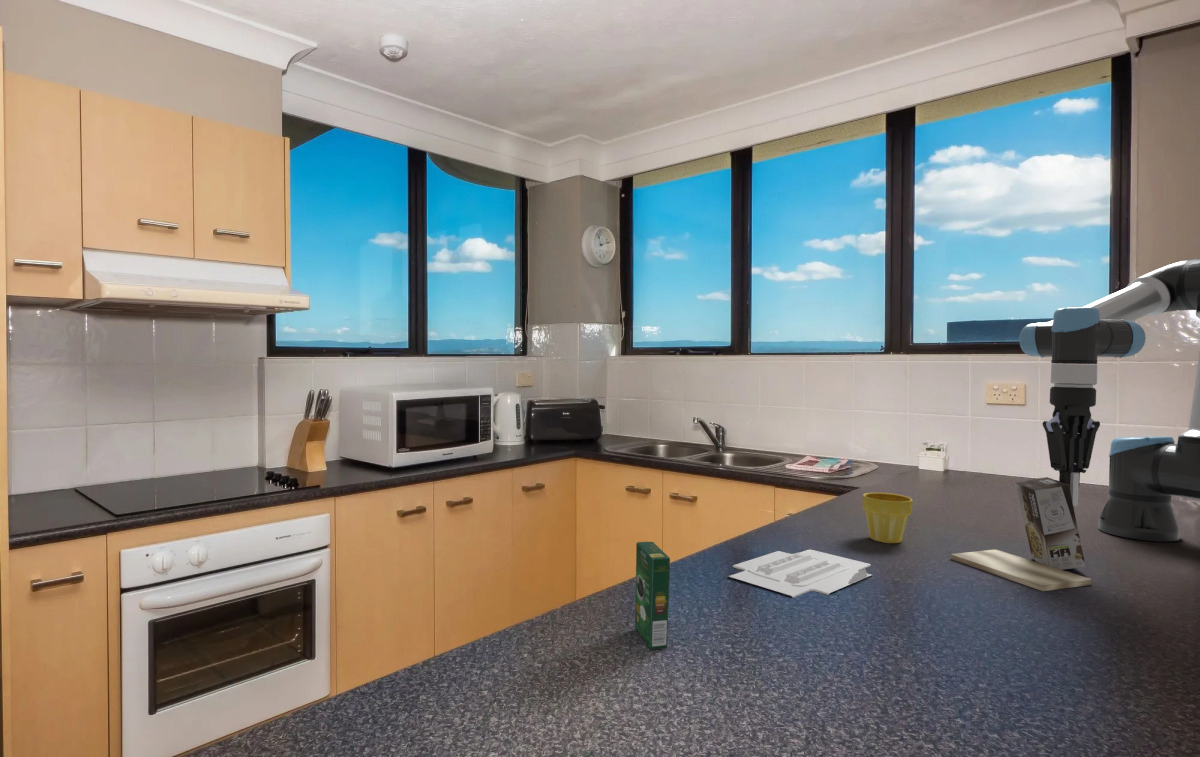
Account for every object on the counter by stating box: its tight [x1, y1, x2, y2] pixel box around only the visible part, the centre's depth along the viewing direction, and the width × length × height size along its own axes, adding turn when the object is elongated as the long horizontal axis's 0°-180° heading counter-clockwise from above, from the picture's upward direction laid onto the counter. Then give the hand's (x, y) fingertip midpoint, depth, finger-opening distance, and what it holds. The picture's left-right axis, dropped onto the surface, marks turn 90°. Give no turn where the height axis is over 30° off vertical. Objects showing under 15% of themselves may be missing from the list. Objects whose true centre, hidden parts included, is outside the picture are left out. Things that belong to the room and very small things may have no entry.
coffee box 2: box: [1015, 476, 1086, 571], centre depth 135 cm, size 9×6×16 cm
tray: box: [727, 549, 873, 599], centre depth 129 cm, size 20×28×4 cm
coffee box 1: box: [634, 541, 671, 651], centre depth 97 cm, size 8×3×13 cm, turn 13°
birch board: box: [950, 549, 1093, 592], centre depth 131 cm, size 12×20×1 cm, turn 19°
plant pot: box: [861, 492, 914, 544], centre depth 153 cm, size 10×10×10 cm
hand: (1068, 504), depth 135 cm, fingers closed
